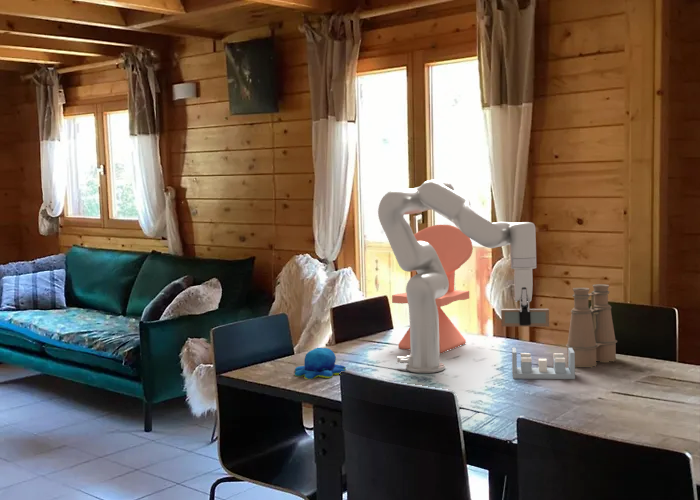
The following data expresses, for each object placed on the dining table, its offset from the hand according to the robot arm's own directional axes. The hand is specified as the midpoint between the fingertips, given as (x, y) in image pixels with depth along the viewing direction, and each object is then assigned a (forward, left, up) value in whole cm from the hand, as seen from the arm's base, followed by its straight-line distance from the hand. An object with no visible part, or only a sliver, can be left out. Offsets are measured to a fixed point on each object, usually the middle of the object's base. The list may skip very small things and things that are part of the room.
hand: (525, 323), depth 228 cm
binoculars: (+22, +25, -18) cm, 38 cm away
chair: (-32, +49, -18) cm, 61 cm away
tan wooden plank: (0, 0, -1) cm, 1 cm away
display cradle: (+5, +6, -18) cm, 19 cm away
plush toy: (-66, +7, -18) cm, 69 cm away
